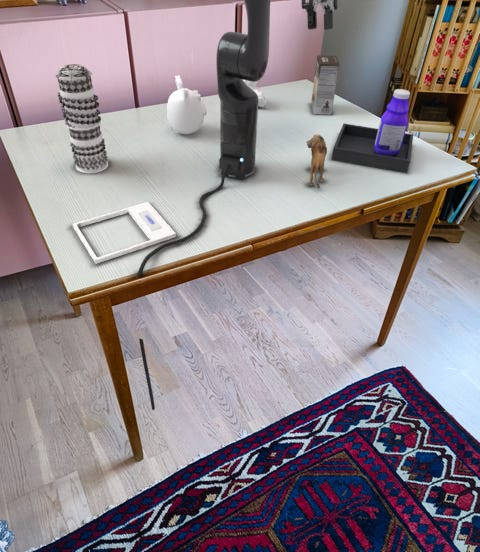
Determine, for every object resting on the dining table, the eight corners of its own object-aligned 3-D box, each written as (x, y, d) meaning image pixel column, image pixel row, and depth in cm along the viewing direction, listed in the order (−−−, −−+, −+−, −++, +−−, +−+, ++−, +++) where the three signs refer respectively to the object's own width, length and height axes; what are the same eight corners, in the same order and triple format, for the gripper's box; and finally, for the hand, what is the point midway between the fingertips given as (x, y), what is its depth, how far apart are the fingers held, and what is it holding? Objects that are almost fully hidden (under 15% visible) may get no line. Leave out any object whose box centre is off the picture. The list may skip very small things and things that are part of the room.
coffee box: (310, 103, 160) (316, 54, 149) (328, 104, 160) (336, 55, 150) (313, 114, 153) (319, 63, 143) (332, 115, 153) (340, 64, 143)
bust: (243, 104, 164) (226, 81, 155) (258, 88, 163) (242, 64, 154) (260, 117, 156) (243, 93, 147) (276, 100, 155) (260, 76, 146)
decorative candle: (66, 170, 121) (42, 70, 105) (87, 155, 128) (67, 59, 111) (97, 177, 119) (77, 76, 102) (116, 161, 126) (100, 64, 109)
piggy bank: (214, 134, 140) (213, 84, 130) (180, 143, 134) (176, 91, 125) (193, 120, 147) (191, 71, 137) (160, 128, 142) (156, 77, 132)
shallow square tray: (406, 173, 125) (410, 161, 123) (331, 159, 130) (333, 147, 127) (410, 145, 138) (413, 134, 135) (341, 134, 142) (343, 123, 140)
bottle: (397, 149, 134) (413, 88, 123) (400, 158, 130) (417, 96, 119) (372, 147, 135) (386, 86, 123) (374, 156, 131) (389, 94, 119)
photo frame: (175, 232, 100) (94, 259, 92) (176, 236, 101) (95, 263, 93) (147, 201, 109) (72, 223, 101) (148, 205, 110) (73, 227, 102)
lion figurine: (302, 162, 128) (306, 131, 122) (321, 162, 128) (326, 132, 122) (308, 190, 117) (313, 157, 111) (329, 190, 117) (335, 158, 111)
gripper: (318, -54, 104) (320, 27, 111) (346, -47, 115) (346, 27, 121) (290, -47, 109) (293, 31, 115) (319, -40, 119) (320, 31, 125)
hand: (320, 29), depth 118 cm, fingers open, 8 cm apart
